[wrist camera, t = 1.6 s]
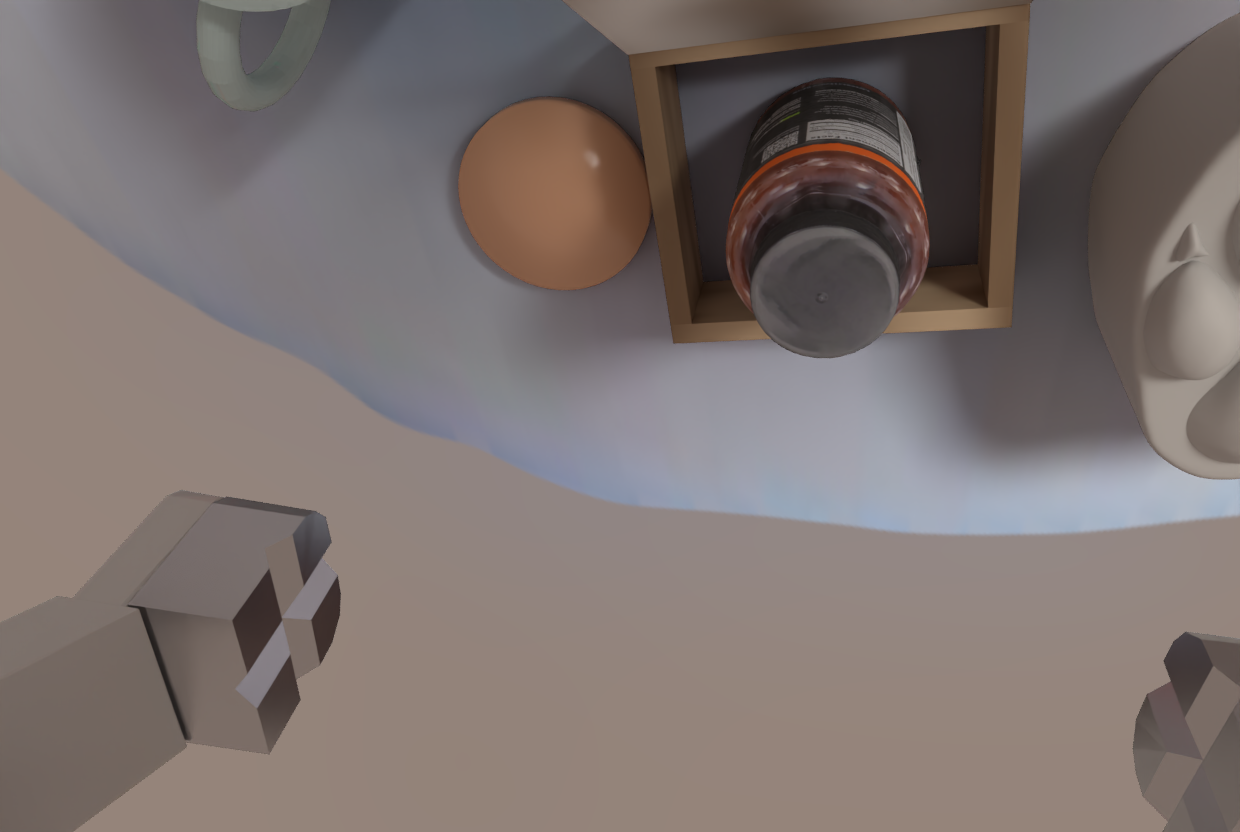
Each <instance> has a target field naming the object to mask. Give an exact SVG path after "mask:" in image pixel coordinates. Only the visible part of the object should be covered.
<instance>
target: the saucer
mask: <svg viewBox="0 0 1240 832" xmlns="http://www.w3.org/2000/svg"><path fill="white" fill-rule="evenodd" d="M458 189H459V200H460V205H461V210H462V213H463V216H464V219H465V222H466V224H467V226H468V228H469V230H470V232H471V234H472V236H473V237H474V239H475V240H476V242H477V244H478V245H479V246H480V247H481V249H482V250H483V251H484V252H485V254H486V255H487V256H488V257H489V258H490V259H491V260H492V261H493V262H495V263H496V264H497V265H498V266H499V267H501V268H502V269H503V270H505V271H506V272H508V273H509V274H511V275H512V276H514V277H516V278H518V279H520V280H522V281H524V282H527V283H529V284H532V285H535V286H539V287H543V288H547V289H554V290H576V289H583V288H587V287H591V286H595V285H597V284H599V283H602V282H604V281H606V280H608V279H610V278H611V277H613V276H615V275H616V274H617V273H618V272H620V271H621V270H622V269H623V268H624V267H625V266H626V265H627V264H628V263H629V262H630V261H631V260H632V258H633V257H634V256H635V254H636V253H637V251H638V249H639V247H640V245H641V243H642V241H643V239H644V237H645V235H646V232H647V229H648V226H649V223H650V219H651V214H652V202H651V196H650V190H649V183H648V177H647V170H646V164H645V161H644V159H643V157H642V155H641V153H640V151H639V149H638V148H637V146H636V145H635V143H634V142H633V140H632V139H631V138H630V136H629V135H628V134H627V133H626V132H625V131H624V130H623V129H622V128H621V127H620V126H619V125H618V124H617V123H616V122H615V121H614V120H612V119H611V118H610V117H608V116H607V115H605V114H604V113H602V112H601V111H599V110H597V109H595V108H593V107H591V106H589V105H587V104H584V103H582V102H579V101H576V100H572V99H567V98H563V97H551V96H547V97H535V98H529V99H524V100H522V101H519V102H516V103H513V104H511V105H509V106H507V107H505V108H503V109H502V110H500V111H499V112H498V113H496V114H495V115H494V116H492V117H491V118H490V119H489V120H488V121H487V122H486V123H485V124H484V125H483V126H482V127H481V128H480V129H479V130H478V132H477V133H476V134H475V136H474V137H473V138H472V140H471V141H470V143H469V145H468V147H467V149H466V151H465V153H464V156H463V159H462V162H461V166H460V171H459V182H458Z"/></svg>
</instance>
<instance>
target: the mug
mask: <svg viewBox="0 0 1240 832" xmlns="http://www.w3.org/2000/svg"><path fill="white" fill-rule="evenodd" d="M330 3H331V0H199V4H198V11H197V19H196V28H197V50H198V55H199V59H200V64H201V69H202V73H203V75H204V77H205V79H206V81H207V83H208V85H209V87H210V89H211V90H212V92H213V94H214V95H216V96H217V97H218V98H219V99H220V100H222V101H223V102H224V103H225V104H227V105H228V106H229V107H231V108H233V109H237V110H244V111H258V110H261V109H263V108H266V107H268V106H271V105H273V104H274V103H276V102H277V101H278V100H279V99H280V98H282V97H283V96H284V95H285V94H286V93H288V92H289V90H290V89H291V88H292V87H293V85H294V84H295V83H296V82H297V80H298V79H299V78H300V76H301V75H302V73H303V71H304V70H305V68H306V66H307V64H308V63H309V61H310V59H311V57H312V56H313V53H314V51H315V49H316V46H317V44H318V41H319V39H320V37H321V34H322V31H323V28H324V25H325V22H326V18H327V15H328V12H329V8H330ZM290 7H292V8H291V12H290V15H289V18H288V21H287V23H286V25H285V28H284V30H283V32H282V35H281V37H280V39H279V41H278V42H277V44H276V46H275V47H274V49H273V51H272V52H271V54H270V55H269V57H268V58H267V59H266V60H265V61H264V63H263V64H262V65H261V66H260V67H259V68H258V69H256V70H255V71H254V72H253V73H251V74H248V75H246V74H245V71H244V69H243V67H242V62H241V56H240V25H241V19H242V13H243V11H249V12H266V11H276V10H281V9H287V8H290Z"/></svg>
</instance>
